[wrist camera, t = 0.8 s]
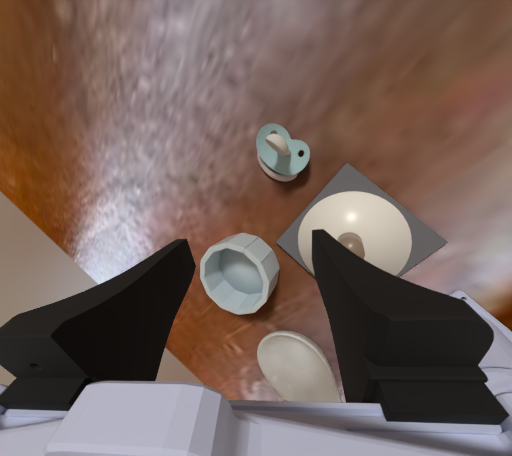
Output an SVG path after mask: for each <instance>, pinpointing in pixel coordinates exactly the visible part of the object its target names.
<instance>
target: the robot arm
mask: <svg viewBox="0 0 512 456" xmlns="http://www.w3.org/2000/svg"><path fill="white" fill-rule="evenodd" d="M312 264H313V269H314V274H315V278H316V281H317V284H318V287H319V290H320V293H321V296H322V299H323V302H324V305H325V308H326V311H327V314H328V318H329V322H330V326H331V331H332V335H333V340H334V344H335V349H336V354H337V358H338V363H339V368H340V373H341V378H342V383H343V389H344V394H345V399H346V403H342V402H298V401H255V400H227V399H226V398H225V397H224V396H223V395H222V393H221V392H220V391H218V390H216V389H213V388H211V387H209V386H206V385H204V384H198V383H190V382H168V381H167V382H165V381H155V380H156V377H157V373H158V369H159V366H160V362H161V358H162V355H163V352H164V348H165V345H166V342H167V339H168V336H169V333H170V330H171V327H172V324H173V321H174V319H175V316H176V314H177V312H178V310H179V307H180V305H181V303H182V301H183V299H184V297H185V294H186V292H187V290H188V288H189V286H190V283H191V281H192V278H193V275H194V271H195V267H196V265H195V262H194V259H193V256H192V253H191V250H190V247H189V244H188V241H187V239H177V240H175V241H173V242H171V243H170V244H168V245H166V246H165V247H163V248H162V249H160V250H159V251H157V252H156V253H154V254H153V255H151V256H150V257H148V258H147V259H145V260H143V261H142V262H140V263H138V264H137V265H135V266H134V267H132V268H130V269H129V270H127V271H125V272H123V273H121V274H120V275H118V276H116V277H114V278H112V279H110V280H108V281H106V282H104V283H101V284H99V285H97V286H95V287H93V288H90V289H88V290H86V291H84V292H81V293H79V294H76V295H74V296H71V297H68V298H66V299H63V300H60V301H58V302H55V303H52V304H49V305H46V306H43V307H40V308H37V309H33V310H31V311H27V312H24V313H21V314H18V315H16V316H15V317H13V318H12V319H11V320H9V321H8V322H7V323H6V324H4V325H3V326H2V327H0V365H1V366H2V367H4V368H5V369H6V370H8V371H9V372H10V373H11V374H13V375H14V376H15V377H17V378H16V379H15V380H14V381H13V382H12V383H11V384H10V385H9V386H7V385H4V384H0V456H512V332H511V331H510V330H509V329H508V328H506V327H505V326H504V325H503V324H502V323H500V322H499V321H498V320H497V319H495V318H494V317H493V316H492V315H491V314H489V313H488V312H487V311H486V310H484V309H483V308H482V307H481V306H479V305H478V304H477V303H476V302H475V301H473V300H472V299H471V298H470V297H468V296H467V295H466V294H465V293H464V292H462V291H459V290H458V291H454V292H453V293H451V294H449V295H446V294H442V293H439V292H436V291H433V290H430V289H427V288H424V287H422V286H419V285H416V284H414V283H411V282H408V281H406V280H404V279H401V278H399V277H397V276H395V275H392V274H390V273H388V272H386V271H384V270H382V269H380V268H378V267H376V266H374V265H373V264H371V263H369V262H367V261H365V260H364V259H362V258H361V257H359V256H358V255H356V254H355V253H353V252H352V251H350V250H349V249H347V248H346V247H345V246H343V245H342V244H341V243H340V242H338V241H337V240H336V239H335V238H333V237H332V236H331V235H330V234H329V233H328V232H326V231H325V230H324V229H317V230H312ZM462 297H465V298H464V299H461V298H462Z"/></svg>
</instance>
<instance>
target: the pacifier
mask: <svg viewBox="0 0 512 456" xmlns="http://www.w3.org/2000/svg"><path fill="white" fill-rule="evenodd" d="M274 130H275V131H277V134H271V132H272V131H274ZM256 146H257V150H258V161H259V164H260V166H261V167H262V169H263V170H264V171H265V172H266V173H267V174H268V175H269V176H270V177H272V178H274V179H276V180H279V181H284V182H285V181H291V180H293V179H294V178H296V177H297V175H298V173H299V172H300V171H301V170H303V169H304V168H305V166H306V165H307V163H308V162H309V159H310V150H309V147H308V146H307V144H306V143H304V142H303V141H300V140H292V139H291V138H290V136H289V134H288V132H287V131H286V130H285V128H283V127H282V126H280V125H278V124H275V123H270V124H267V125H265V126H263V127H262V128H261V129H260V130H259V132H258V135H257V139H256ZM300 150H303V151H304V155H303V156H302V157H299V155H298V153H299V151H300ZM271 168H272V169H273V170H274V171H276V172H278V173H280V174H278V173H276V172H274V171H273V170H272V169H271ZM282 174H283V175H282Z"/></svg>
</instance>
